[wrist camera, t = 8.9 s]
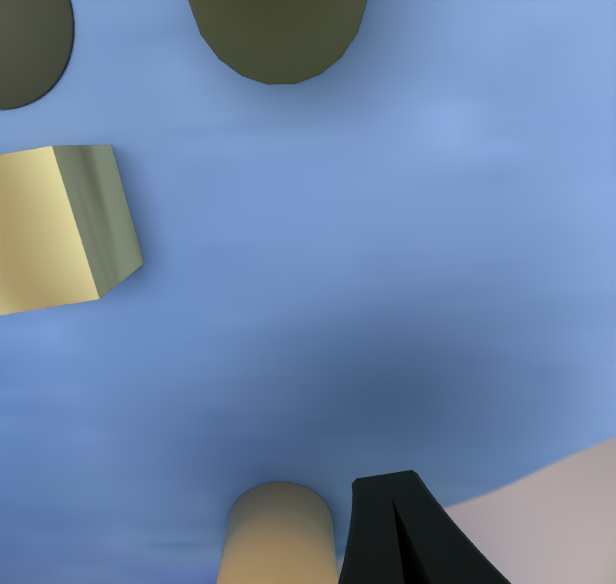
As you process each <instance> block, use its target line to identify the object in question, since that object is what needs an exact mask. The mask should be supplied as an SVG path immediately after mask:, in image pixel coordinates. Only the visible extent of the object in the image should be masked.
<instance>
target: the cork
mask: <svg viewBox="0 0 616 584" xmlns="http://www.w3.org/2000/svg"><path fill="white" fill-rule="evenodd" d="M366 3H367V0H189V4H190V7H191V9H192V12H193V15H194V17H195V20H196V23H197V25H198V28H199V31H200V33H201V35H202V37H203V38H204V39H205V41H206V42H207V43H208V45H209V46H210V47H211V49H212V50H213V51H214V53H215V54H216V56H217V57H218V58H219V59H220V60H221V61H223V62H224V63H225V64H227V65H228V66H229V67H231V68H232V69H233V70H235V71H236V72H238V73H239V74H240V75H242V76H244V77H247V78H250V79H253V80H256V81H259V82H262V83H265V84H296V83H298V82H301V81H304V80H306V79H309V78H312V77H314V76H317V75H320V74H321V73H322V72H324V71H325V70H326V69H327V68H328V67H330V66H331V65H332V64H333V63H334V62H336V61H337V60H338V59H339V58H341V57H342V55H343V54H344V52H345V51H346V49H347V48H348V46H349V45H350V43H351V42H352V40H353V38H354V37H355V35H356V34H357V32H358V30H359V26H360V23H361V20H362V16H363V13H364V10H365V6H366Z"/></svg>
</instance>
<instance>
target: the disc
mask: <svg viewBox="0 0 616 584" xmlns="http://www.w3.org/2000/svg"><path fill="white" fill-rule="evenodd" d="M73 36H74V22H73V13H72V7H71V3H70V0H0V109H11V108H17V107H20V106H24V105H27V104H29V103H31V102H33V101H35V100H37V99H38V98H40V97H42V96H43V95H44V94H46V93H47V92H48V91H49V90H50V89H51V88H52V87H53V86H54V85H55V83H56V82H57V81H58V80H59V78H60V77H61V75H62V73H63V72H64V70H65V67H66V65H67V63H68V60H69V57H70V53H71V49H72V43H73Z"/></svg>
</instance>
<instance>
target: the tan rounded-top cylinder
mask: <svg viewBox="0 0 616 584" xmlns="http://www.w3.org/2000/svg"><path fill="white" fill-rule="evenodd" d="M338 582H339V581H338V572H337V561H336V551H335V541H334V531H333V521H332V515H331V512H330V510H329V507H328V506H327V504H326V503H325V501H324V500H323V499H322V498H321V497H320V496H319V495H318V494H317V493H315V492H314V491H312V490H311V489H309V488H307V487H305V486H302V485H299V484H295V483H290V482H271V483H266V484H262V485H259V486H256V487H254V488H252V489H250V490H248V491H247V492H245V493H244V494H243V495H242V496H240V497H239V499H238V500H237V501H236V502H235V503H234V505H233V506H232V508H231V511H230V513H229V517H228V522H227V527H226V533H225V538H224V544H223V550H222V555H221V561H220V567H219V572H218V578H217V584H338Z"/></svg>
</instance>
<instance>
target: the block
mask: <svg viewBox="0 0 616 584" xmlns="http://www.w3.org/2000/svg"><path fill="white" fill-rule="evenodd" d="M143 264H144V262H143V258H142V254H141V251H140V247H139V243H138V240H137V236H136V233H135V229H134V225H133V222H132V218H131V214H130V211H129V207H128V204H127V200H126V196H125V193H124V189H123V185H122V182H121V178H120V174H119V171H118V167H117V164H116V160H115V156H114V153H113V149H112V145H77V146H48V147H42V148H36V149H31V150H25V151H19V152H13V153H8V154H2V155H0V315H5V314H11V313H17V312H23V311H29V310H35V309H42V308H48V307H54V306H60V305H66V304H72V303H78V302H84V301H91V300H97V299H100V298H101V297H103V296H104V295H105V294H106V293H108V292H109V291H110V290H111V289H113V288H114V287H115V286H116V285H118V284H119V283H120V282H122V281H123V280H124V279H125V278H127V277H128V276H129V275H130V274H132V273H133V272H134V271H135V270H137V269H138V268H139V267H140V266H142V265H143Z"/></svg>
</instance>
